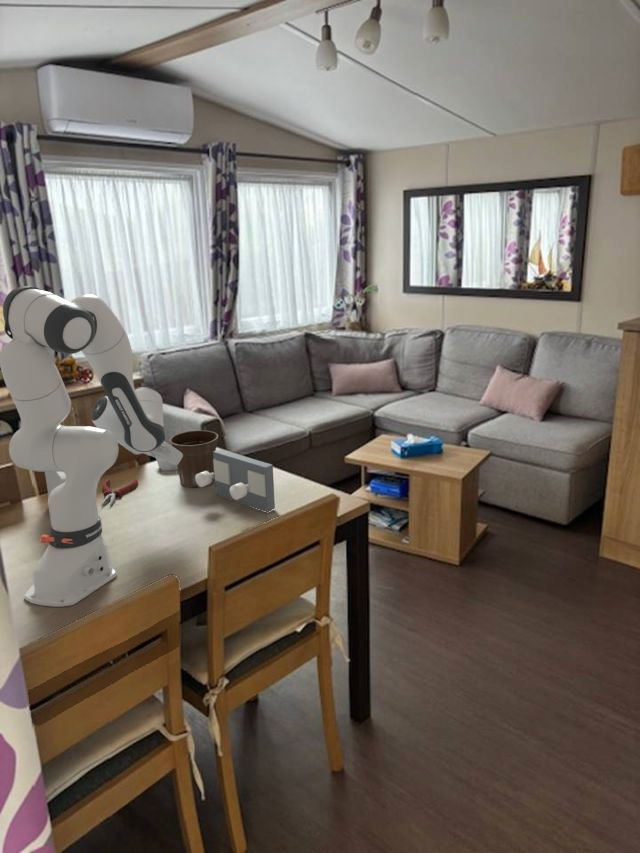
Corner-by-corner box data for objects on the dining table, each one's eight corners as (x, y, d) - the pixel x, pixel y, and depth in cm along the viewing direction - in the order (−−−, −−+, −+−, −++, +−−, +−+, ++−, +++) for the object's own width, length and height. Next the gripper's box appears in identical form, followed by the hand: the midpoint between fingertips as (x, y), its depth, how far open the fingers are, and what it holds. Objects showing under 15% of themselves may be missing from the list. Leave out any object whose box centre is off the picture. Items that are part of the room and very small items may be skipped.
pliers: (88, 509, 201) (86, 501, 200) (106, 485, 220) (105, 478, 219) (124, 508, 201) (123, 500, 200) (139, 484, 220) (138, 477, 220)
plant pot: (199, 493, 210) (195, 447, 205) (164, 485, 218) (159, 440, 213) (230, 477, 223) (227, 434, 218) (196, 470, 231) (192, 427, 226)
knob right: (240, 501, 186) (239, 487, 185) (230, 497, 189) (229, 484, 187) (253, 495, 190) (252, 481, 189) (243, 492, 193) (242, 478, 191)
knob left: (205, 488, 196) (203, 475, 195) (195, 485, 199) (194, 472, 197) (218, 483, 200) (217, 470, 199) (209, 480, 203) (208, 467, 201)
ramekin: (150, 467, 235) (149, 454, 233) (174, 459, 243) (173, 446, 241) (169, 474, 228) (167, 460, 226) (193, 465, 236) (192, 452, 234)
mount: (266, 514, 193) (264, 468, 189) (215, 495, 208) (211, 452, 204) (274, 510, 196) (272, 464, 191) (223, 491, 211) (220, 449, 206)
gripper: (167, 435, 171) (198, 459, 181) (124, 422, 184) (156, 445, 194) (155, 455, 169) (187, 478, 179) (113, 440, 182) (145, 462, 192)
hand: (171, 461), depth 187 cm, fingers closed
